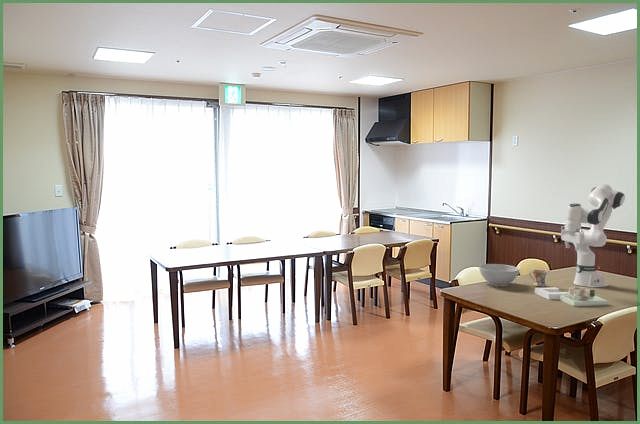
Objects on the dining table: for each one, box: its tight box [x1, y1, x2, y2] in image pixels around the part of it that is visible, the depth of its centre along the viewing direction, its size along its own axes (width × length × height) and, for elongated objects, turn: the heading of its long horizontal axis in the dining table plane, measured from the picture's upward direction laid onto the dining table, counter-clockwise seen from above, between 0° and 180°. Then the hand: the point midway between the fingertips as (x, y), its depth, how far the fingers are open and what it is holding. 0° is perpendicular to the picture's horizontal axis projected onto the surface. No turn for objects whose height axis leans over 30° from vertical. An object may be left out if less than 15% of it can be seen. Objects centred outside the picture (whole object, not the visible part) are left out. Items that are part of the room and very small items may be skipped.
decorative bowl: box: [478, 263, 520, 288], centre depth 361 cm, size 27×27×12 cm
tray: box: [559, 295, 608, 307], centre depth 317 cm, size 22×14×3 cm, turn 98°
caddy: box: [568, 286, 596, 301], centre depth 317 cm, size 15×6×8 cm, turn 98°
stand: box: [534, 286, 569, 301], centre depth 332 cm, size 15×16×4 cm
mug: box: [529, 269, 548, 288], centre depth 359 cm, size 12×9×11 cm
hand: (572, 249), depth 339 cm, fingers open, 8 cm apart
